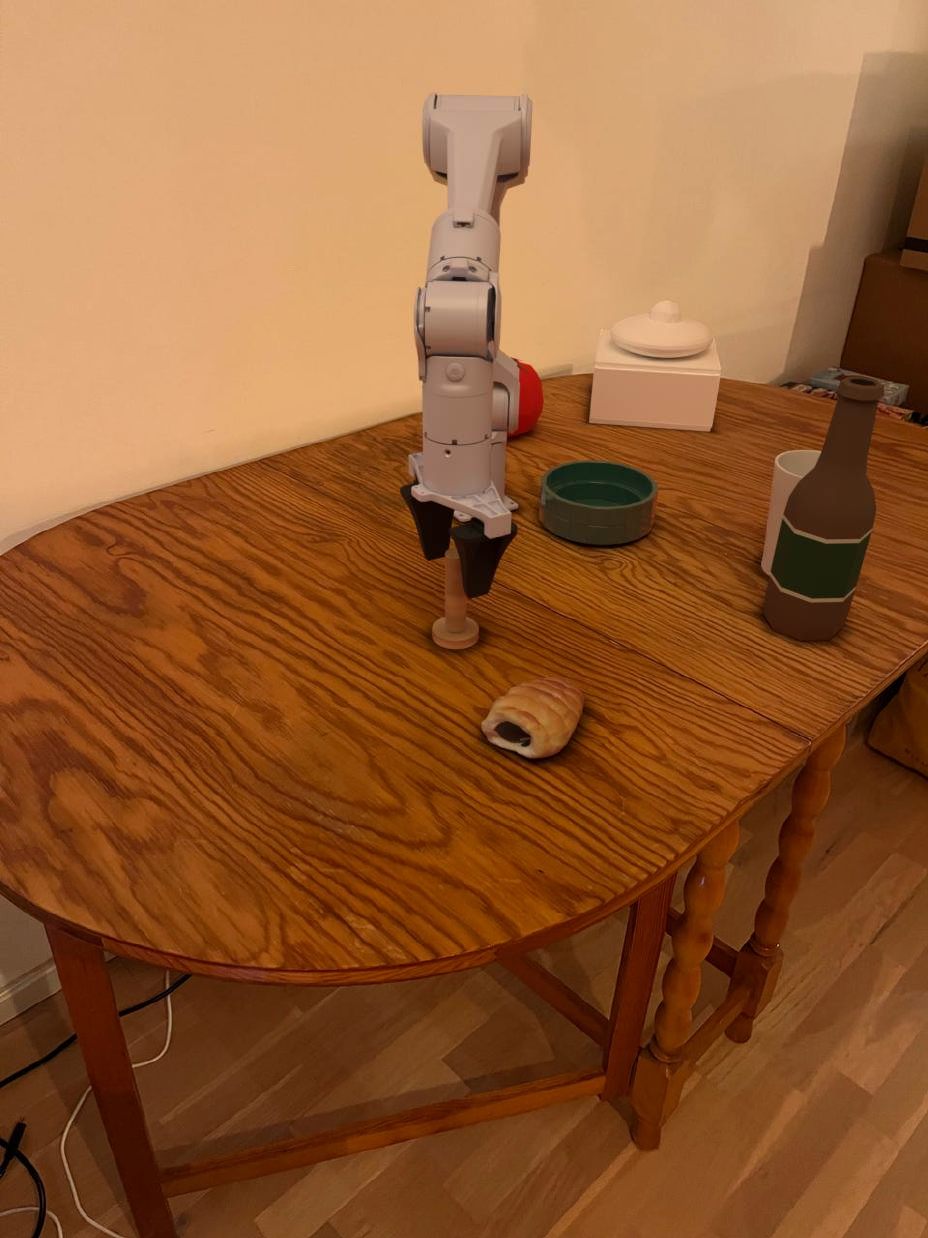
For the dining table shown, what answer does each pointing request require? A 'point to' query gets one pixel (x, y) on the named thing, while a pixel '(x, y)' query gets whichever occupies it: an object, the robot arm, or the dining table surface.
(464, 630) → the peg on round base
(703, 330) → the butter dish
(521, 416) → the tomato
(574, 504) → the bowl
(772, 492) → the cup
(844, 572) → the beer bottle
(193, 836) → the dining table surface
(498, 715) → the pastry
